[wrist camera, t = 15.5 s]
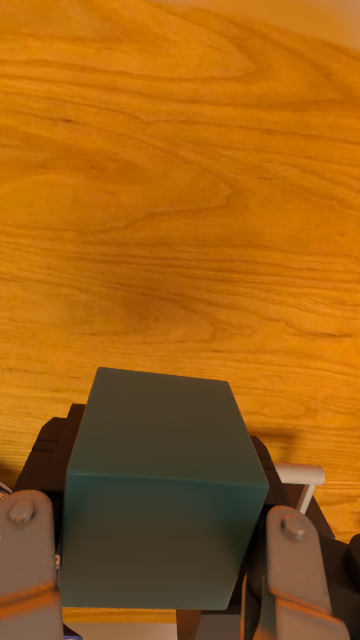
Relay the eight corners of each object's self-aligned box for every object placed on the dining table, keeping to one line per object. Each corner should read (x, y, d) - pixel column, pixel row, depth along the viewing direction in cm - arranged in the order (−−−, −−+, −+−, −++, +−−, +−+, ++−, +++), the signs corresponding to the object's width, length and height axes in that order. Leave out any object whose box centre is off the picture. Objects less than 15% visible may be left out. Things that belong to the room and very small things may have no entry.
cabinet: (191, 527, 36) (201, 614, 28) (283, 530, 37) (316, 615, 29) (175, 595, 39) (180, 688, 32) (259, 597, 41) (282, 686, 33)
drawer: (223, 429, 30) (240, 486, 24) (318, 437, 31) (356, 492, 26) (194, 547, 35) (202, 616, 30) (277, 549, 37) (300, 616, 31)
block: (97, 365, 11) (64, 471, 7) (228, 380, 12) (271, 486, 7) (87, 469, 13) (54, 609, 8) (203, 478, 13) (227, 611, 9)
